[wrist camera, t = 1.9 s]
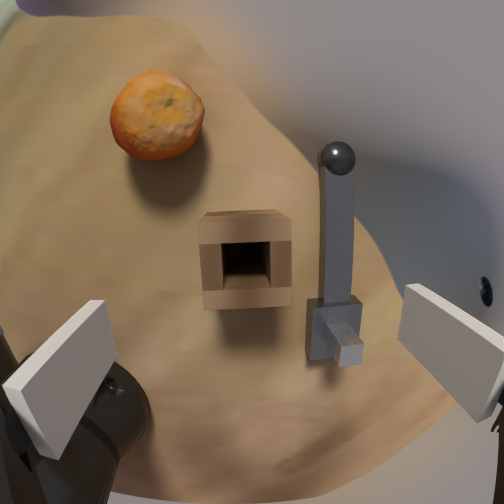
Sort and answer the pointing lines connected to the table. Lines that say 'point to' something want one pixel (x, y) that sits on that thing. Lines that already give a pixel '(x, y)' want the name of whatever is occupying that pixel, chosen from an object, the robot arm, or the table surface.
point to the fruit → (156, 116)
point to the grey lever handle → (335, 264)
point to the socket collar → (250, 272)
